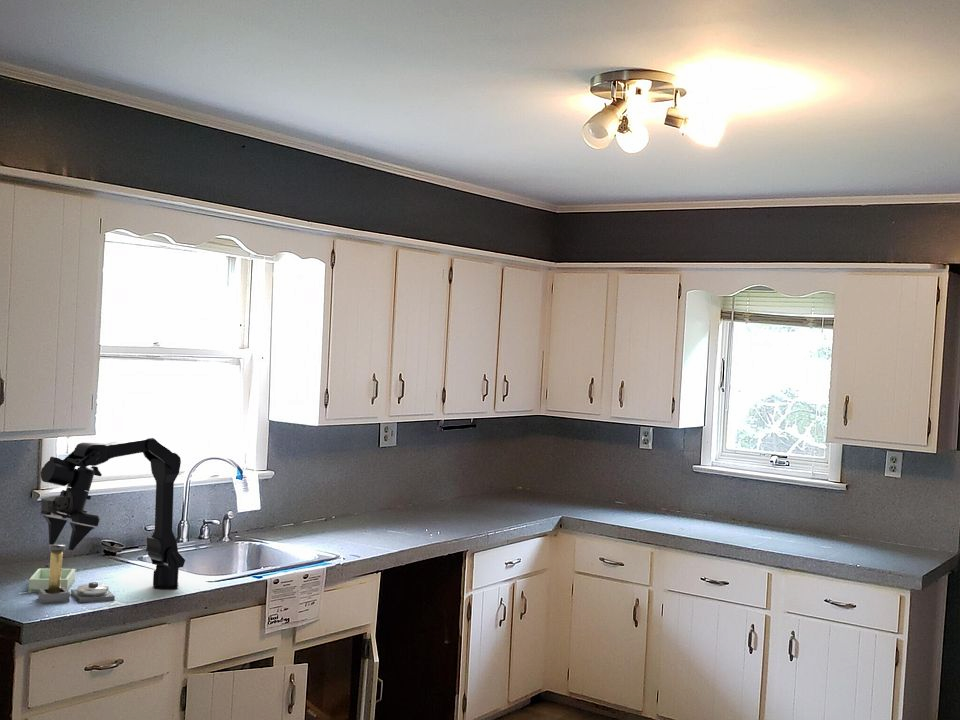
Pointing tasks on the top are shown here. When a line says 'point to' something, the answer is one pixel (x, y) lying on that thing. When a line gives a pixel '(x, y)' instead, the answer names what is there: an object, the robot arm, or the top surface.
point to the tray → (42, 579)
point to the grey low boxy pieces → (78, 594)
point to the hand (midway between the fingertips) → (60, 547)
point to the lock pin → (55, 567)
